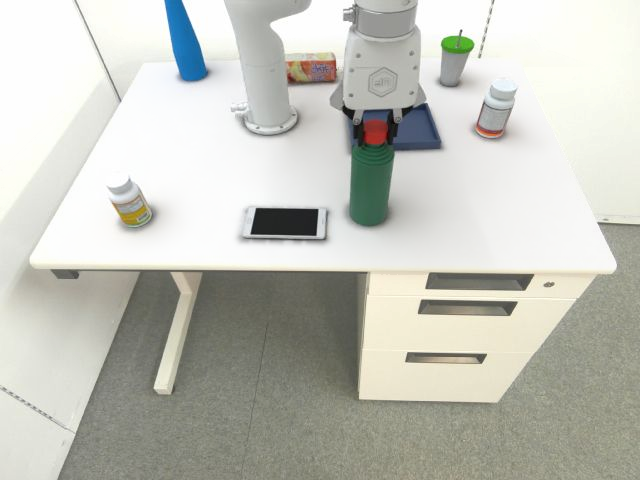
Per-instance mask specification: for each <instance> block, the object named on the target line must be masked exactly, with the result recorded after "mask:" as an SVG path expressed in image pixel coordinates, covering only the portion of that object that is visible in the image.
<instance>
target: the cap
mask: <svg viewBox="0 0 640 480" xmlns="http://www.w3.org/2000/svg"><path fill="white" fill-rule="evenodd" d="M387 137H388V124H387V123H386V122H384V121H382V120H376V119H373V120H368V121H366V122H364V133H363V140H364V141H365V142H366V143H369V144H381V143H383V142H385V141H386V140H387Z"/></svg>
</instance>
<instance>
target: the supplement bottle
mask: <svg viewBox="0 0 640 480" xmlns="http://www.w3.org/2000/svg"><path fill="white" fill-rule="evenodd" d="M105 186H106V187H107V189H108V192H107V196H108V199H109V201H110V203H111V204H112V206H113V208H114V210H115V211H116V213H117V214H118V216H119V218H120V219H121V221H122V222H123V224H124V225H125V226H126V227H129V228H138V227H142V226H144V225H146V224H147V223H148V222H150V220H151V218H152V215H153V213H152V209H151V207H150V206H149V203H148V201H147V199H146V197H145V195H144V194H143V191H142V190H141V188H140V186H139V184H138V183H137V182H135V181H133V180H132V179H131V177H130V175H129V174H128V173H127V172H124V171H120V172H119V171H118V172H115V173H112V174H110V175H109V176H108V177H107V178H106V179H105Z"/></svg>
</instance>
